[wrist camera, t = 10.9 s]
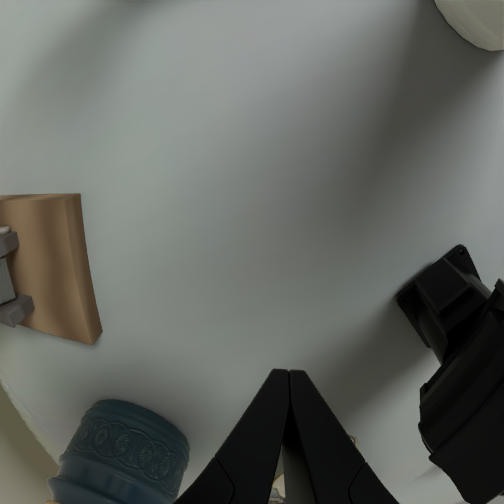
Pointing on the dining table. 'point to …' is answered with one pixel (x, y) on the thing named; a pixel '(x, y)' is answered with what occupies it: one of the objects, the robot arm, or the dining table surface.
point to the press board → (48, 266)
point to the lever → (5, 282)
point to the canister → (121, 458)
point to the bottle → (476, 21)
